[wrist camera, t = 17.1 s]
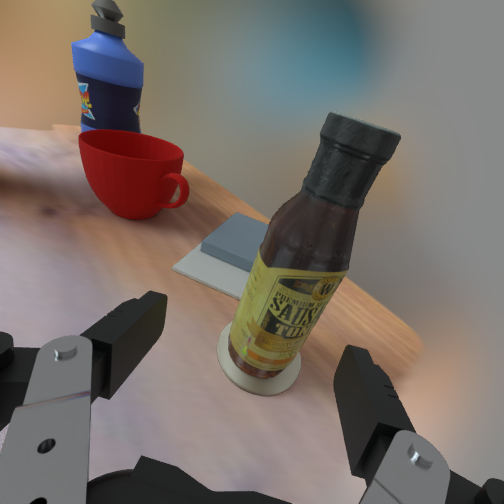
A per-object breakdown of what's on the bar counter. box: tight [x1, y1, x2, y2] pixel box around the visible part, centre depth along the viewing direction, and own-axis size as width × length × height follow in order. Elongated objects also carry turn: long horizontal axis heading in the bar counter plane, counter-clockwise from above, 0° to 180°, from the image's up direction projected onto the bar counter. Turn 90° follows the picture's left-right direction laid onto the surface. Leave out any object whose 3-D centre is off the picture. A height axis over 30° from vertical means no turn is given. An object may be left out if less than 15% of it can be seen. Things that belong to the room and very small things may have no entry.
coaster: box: [217, 321, 301, 396], centre depth 24 cm, size 8×8×1 cm
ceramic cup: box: [79, 129, 189, 219], centre depth 37 cm, size 13×17×10 cm
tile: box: [200, 212, 269, 272], centre depth 38 cm, size 2×9×12 cm
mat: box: [172, 242, 250, 300], centre depth 36 cm, size 15×11×1 cm
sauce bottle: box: [228, 112, 401, 379], centre depth 19 cm, size 6×6×20 cm
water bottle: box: [71, 0, 144, 134], centre depth 41 cm, size 9×9×25 cm
